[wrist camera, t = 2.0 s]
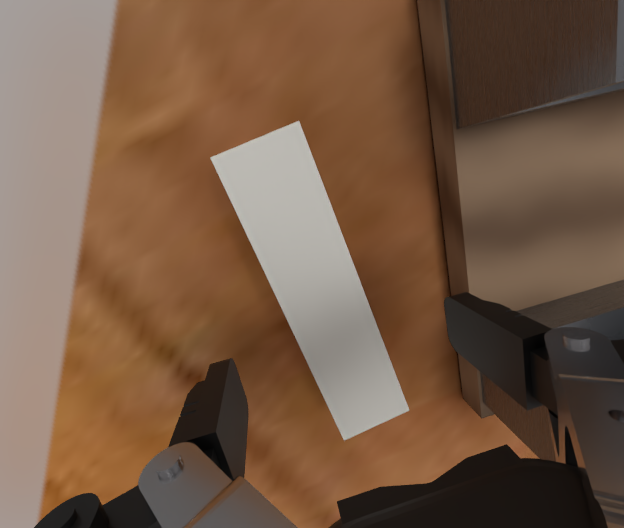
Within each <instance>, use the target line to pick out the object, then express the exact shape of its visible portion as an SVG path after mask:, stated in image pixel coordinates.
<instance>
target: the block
mask: <svg viewBox="0 0 624 528" xmlns="http://www.w3.org/2000/svg"><path fill="white" fill-rule="evenodd" d="M210 158H211V160H212V163H213V165H214V167H215V169H216V171H217V173H218V175H219V177H220V179H221V182H222V184H223V186H224V188H225V190H226V192H227V194H228V196H229V198H230V201H231V203H232V205H233V207H234V209H235V211H236V213H237V215H238V218H239V220H240V222H241V224H242V226H243V228H244V230H245V232H246V234H247V237H248V239H249V241H250V243H251V245H252V247H253V249H254V251H255V253H256V256H257V258H258V260H259V262H260V264H261V266H262V268H263V270H264V272H265V275H266V277H267V279H268V281H269V283H270V285H271V287H272V289H273V291H274V294H275V296H276V298H277V300H278V302H279V304H280V306H281V308H282V310H283V313H284V315H285V317H286V319H287V321H288V323H289V325H290V327H291V330H292V332H293V334H294V336H295V338H296V340H297V342H298V344H299V346H300V349H301V351H302V353H303V355H304V357H305V359H306V361H307V363H308V365H309V368H310V370H311V372H312V374H313V376H314V378H315V380H316V382H317V384H318V387H319V389H320V391H321V393H322V395H323V397H324V399H325V401H326V403H327V406H328V408H329V410H330V412H331V414H332V416H333V418H334V420H335V423H336V425H337V427H338V429H339V431H340V433H341V435H342V437H343V439H344V440H347V439H349V438H351V437H353V436H355V435H357V434H360V433H362V432H364V431H366V430H368V429H370V428H373V427H375V426H377V425H379V424H381V423H383V422H386V421H388V420H390V419H392V418H394V417H396V416H399V415H401V414H403V413H405V412H407V411H409V408H408V405H407V403H406V400H405V397H404V395H403V392H402V390H401V387H400V384H399V382H398V379H397V376H396V374H395V371H394V369H393V366H392V363H391V361H390V358H389V355H388V353H387V350H386V348H385V345H384V342H383V340H382V337H381V335H380V332H379V329H378V327H377V324H376V321H375V319H374V316H373V314H372V311H371V308H370V306H369V303H368V300H367V298H366V295H365V293H364V290H363V287H362V285H361V282H360V279H359V277H358V274H357V272H356V269H355V266H354V264H353V261H352V258H351V256H350V253H349V251H348V248H347V245H346V243H345V240H344V237H343V235H342V232H341V230H340V227H339V224H338V222H337V219H336V217H335V214H334V211H333V209H332V206H331V203H330V201H329V198H328V196H327V193H326V190H325V188H324V185H323V182H322V180H321V177H320V175H319V172H318V169H317V167H316V164H315V161H314V159H313V156H312V154H311V151H310V148H309V146H308V143H307V140H306V138H305V135H304V133H303V130H302V127H301V125H300V122H299V121H297V122H295V123H292V124H290V125H287V126H285V127H283V128H280V129H278V130H275V131H273V132H271V133H268V134H266V135H263V136H261V137H259V138H256V139H254V140H251V141H249V142H246V143H244V144H242V145H239V146H237V147H234V148H232V149H230V150H227V151H225V152H222V153H220V154H218V155H215V156H213V157H210Z"/></svg>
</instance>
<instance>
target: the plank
mask: <svg viewBox="0 0 624 528" xmlns="http://www.w3.org/2000/svg"><path fill="white" fill-rule="evenodd" d="M417 4H418V12H419V21H420V30H421V38H422V47H423V55H424V64H425V73H426V81H427V90H428V99H429V107H430V116H431V125H432V133H433V142H434V151H435V159H436V168H437V177H438V185H439V194H440V203H441V211H442V220H443V229H444V237H445V246H446V254H447V263H448V272H449V280H450V289H451V296H453V295H456V294H460V293H463V292H468V293H470V294H472V295H474V296H476V297H478V298H480V299H482V300H486V301H490V302H495V303H499V304H501V305H503V306H506V307H508V308H510V309H511V310H512V311H513V310H514V311H517V310H521V309H524V308H528V307H531V306H535V305H538V304H541V303H545V302H548V301H552V300H555V299H559V298H562V297H565V296H569V295H572V294H576V293H579V292H583V291H586V290H589V289H593V288H596V287H600V286H603V285H606V284H610V283H613V282H617V281H620V280H624V90H622V91H618V92H613V93H609V94H605V95H601V96H596V97H592V98H588V99H584V100H579V101H575V102H571V103H567V104H562V105H558V106H554V107H549V108H545V109H541V110H537V111H532V112H528V113H524V114H520V115H515V116H511V117H507V118H503V119H498V120H494V121H490V122H485V123H481V124H477V125H473V126H468V127H464V128H460V129H457V125H456V115H455V105H454V94H453V84H452V73H451V63H450V52H449V42H448V31H447V21H446V10H445V0H417ZM458 358H459V367H460V376H461V384H462V393H463V399H464V400H465V401H466V402H467V403H468V404H469V405H470V406H471V408H472V409H473V410H474V411H475V412H476V413H477V414H478V415H479V416H480V417H481V418H484V417H488V416H491V415H494V413H493V412H492V411H491V410H490V409H489V408H488V407H487V406H486V405H485V404H484V403H483V397H482V387H481V376H480V371H479V370H478V369H477V368H475V367H474V366H473V365H472V364H471V363H469V362H468V361H467V360H466V359H465V358H464V357H462V356H461V355H460V354H459V353H458Z"/></svg>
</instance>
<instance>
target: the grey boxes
mask: <svg viewBox="0 0 624 528" xmlns="http://www.w3.org/2000/svg"><path fill="white" fill-rule="evenodd" d="M445 10H446V21H447V31H448V42H449V52H450V63H451V73H452V84H453V94H454V105H455V115H456V125H457V129H460V128H464V127H468V126H473V125H477V124H481V123H485V122H490V121H494V120H498V119H503V118H507V117H511V116H515V115H520V114H524V113H528V112H532V111H537V110H541V109H545V108H549V107H554V106H558V105H562V104H567V103H571V102H575V101H579V100H584V99H588V98H592V97H596V96H601V95H605V94H609V93H613V92H618V91H622V90H624V0H445ZM516 312H518V313H520V314H521V315H522V316H523V315H524V316H526V317H528V318H531V319H533V320H535V321H537V322H539V323H541V324H543V325H545V326H547V327H549V328H551V329H555V328H560V327H578V328H584V329H589V330H593V331H596V332H598V333H600V334H602V335H604V336H606V337H607V338H608V339H609V340H610V341H611V340H623V339H624V280H620V281H617V282H613V283H610V284H606V285H603V286H600V287H596V288H593V289H589V290H586V291H583V292H579V293H576V294H572V295H569V296H565V297H562V298H559V299H555V300H552V301H548V302H545V303H541V304H538V305H535V306H531V307H528V308H524V309H521V310H517V311H516ZM480 376H481V387H482V397H483V403H484V404H485V405H486V406H487V407H488V408H489V409H490V410H491V411H492V412H493V413H494V414H495V415H496V416H497V417H498V418H499V419H500V420H501V421H502V422H503V423H504V424H505V425H506V426H507V427H508V428H509V429H510V430H511V431H512V432H513V433H514V434H515V435H516V436H517V437H518V438H519V439H520V440H521V441H522V442H523V443H524V444H526V445H527V446H528V447H529V448H530V449H531V450H532V451H533V452H534V453H535V454H536V455H537V456H538V457H539V458H540V459H544V460H551V461H555V462H557V461H556V456H555V451H554V447H553V442H552V437H551V432H550V427H549V422H548V409H547V407H546V406H544V405H543V406H540V407H536V408H533V409H530V410H526V409H525V408H523V407H522V406H521V405H520V404H519V403H517V402H516V401H515V400H514V399H513V398H511V397H510V396H509V395H508V394H507V393H505V392H504V391H503V390H502V389H501V388H499V387H498V386H497V385H496V384H495V383H493V382H492V381H491V380H490V379H489V378H487V377H486V376H485V375H484V374H483V373H481V372H480Z"/></svg>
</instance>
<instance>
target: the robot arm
mask: <svg viewBox="0 0 624 528" xmlns="http://www.w3.org/2000/svg"><path fill="white" fill-rule="evenodd" d="M444 307H445V315H446V323H447V330H448V337H449V340H450V343H451V345H452V346H453V348H454V349H455V351H456V352H458V353H459V354H460V355H461V356H462V357H464V358H465V359H466V360H467V361H468V362H469V363H471V364H472V365H473V366H474V367H475V368H477V369H478V370H479V371H480V372H481V373H483V374H484V375H485V376H486V377H487V378H489V379H490V380H491V381H492V382H493V383H495V384H496V385H497V386H498V387H499V388H501V389H502V390H503V391H504V392H505V393H507V394H508V395H509V396H510V397H511V398H513V399H514V400H515V401H516V402H517V403H519V404H520V405H521V406H522V407H523V408H525V409H526V410H530V409H533V408H536V407H540V406H543V405H544V406H546V407H547V409H548V422H549V427H550V432H551V437H552V442H553V447H554V451H555V456H556V461H557V462H555V461H551V460H544V459H531V458H522V459H520V458H519V457H518V456H517V455H516V453H515V452H514V451H513V450H512V449H511V448H510V447H509V446H508V445H507V444H506V445H504V446H501V447H498V448H495V449H492V450H489V451H486V452H483V453H480V454H477V455H474V456H471V457H468V458H466V459H464V460H463V461H462V462H460V463H459V464H457V465H456V466H454V467H453V468H452V469H450V470H449V471H447V472H446V473H444V474H443V475H442V476H440V477H439V478H437V479H436V480H434V481H433V482H430V483H426V484H414V485H401V486H387V487H379V488H376V489H373V490H370V491H367V492H364V493H361V494H358V495H355V496H352V497H349V498H346V499H343V500H340V501H337V504H338V508H339V512H340V516H341V519H339V520H338V521H337V522H335V523H334V524H332V525H331V526H330V527H329V528H624V339H623V340H611V341H610V340H609V339H608V338H607V337H606V336H604V335H602V334H600V333H598V332H596V331H593V330H589V329H584V328H578V327H560V328H555V329H551V328H549V327H547V326H545V325H543V324H541V323H539V322H537V321H535V320H533V319H531V318H528V317H526V316H524V315H523V316H522V315H521V314H520V313H518V312H516V311H514V310H513V311H512V310H511V309H510V308H508V307H506V306H503V305H501V304H499V303H495V302H490V301H486V300H482V299H480V298H478V297H476V296H474V295H472V294H470V293H468V292H463V293H460V294H456V295H453V296H449V297H446V298H445V300H444ZM180 415H181V417H179V420H178V422H177V425H176V428H175V430H174V433H173V436H172V438H171V441H170V444H169V447H168V448H167V449H165V450H163V451H162V452H160V453H159V454H158V455H156V456H155V457H154V458H153V459H152V460H151V461H150V462H149V463H148V464H147V465H146V467H145V468H144V469H143V471H142V473H141V475H140V478H139V482H138V485H137V486H136V487H134V488H133V489H131V490H129V491H127V492H126V493H124V494H122V495H120V496H118V497H117V498H115V499H113V500H111V501H109V502H108V503H106V504H104V505H102V504H101V502H100V500H99V498H98V496H96V495H95V494H93V493H86V494H81V495H78V496H75V497H73V498H71V499H69V500H67V501H65V502H64V503H62V504H60V505H59V506H58V507H56V508H55V509H53V510H52V511H51V512H50V513H48V514H47V515H46V516H45V517H44V518H43V519H42V520H41V521H40V522H39V523H38V524H37V525H36V526H35V527H34V528H297V527H296V526H295V525H294V524H293V523H292V522H291V521H290V520H289V519H288V518H286V517H285V516H284V515H283V514H282V513H281V512H280V511H279V510H278V509H277V508H276V507H275V506H274V505H272V504H271V503H270V502H269V501H268V500H267V499H266V498H265V497H264V496H263V495H262V494H261V493H260V492H258V491H257V490H256V489H255V488H254V487H253V486H252V485H251V484H250V483H249V482H248V481H247V480H245V479H244V474H245V459H246V443H247V428H248V404H247V399H246V395H245V392H244V389H243V386H242V383H241V380H240V377H239V374H238V371H237V368H236V365H235V362H234V360H233V359H232V358H230V359H227V360H223V361H220V362H216V363H213V364H210V366H209V369H208V373H207V376H206V379H205V381H202V382H198V383H197V384H196V385H195V386H194V387H193V389H192V390H191V391H190V392H189V393H188V395H187V398H186V401H185V403H184V407H183V409H182V411H181V414H180Z"/></svg>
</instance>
